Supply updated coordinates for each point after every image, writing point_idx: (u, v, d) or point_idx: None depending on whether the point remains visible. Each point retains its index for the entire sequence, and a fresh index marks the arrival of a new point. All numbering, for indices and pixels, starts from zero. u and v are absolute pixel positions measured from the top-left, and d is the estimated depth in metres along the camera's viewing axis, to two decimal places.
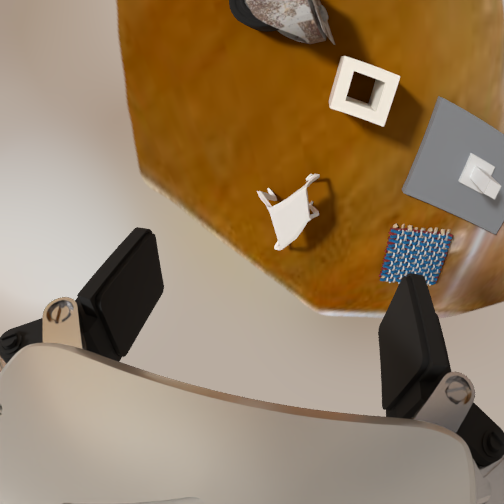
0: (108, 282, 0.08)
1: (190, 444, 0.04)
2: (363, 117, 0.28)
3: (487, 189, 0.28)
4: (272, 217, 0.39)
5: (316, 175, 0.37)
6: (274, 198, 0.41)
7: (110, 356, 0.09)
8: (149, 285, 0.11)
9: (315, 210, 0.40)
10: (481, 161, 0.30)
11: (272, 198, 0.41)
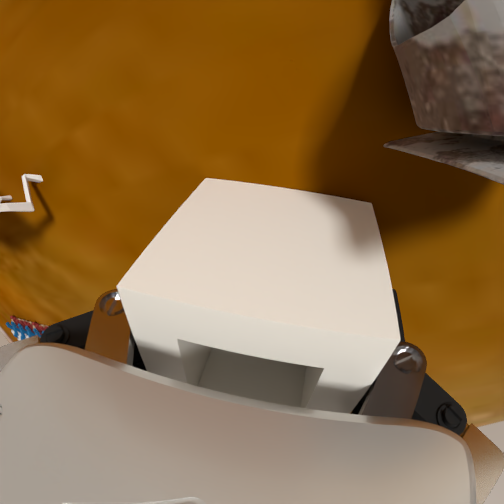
0: None
1: (190, 444, 0.04)
2: None
3: None
4: None
5: (26, 207, 0.11)
6: None
7: None
8: None
9: None
10: None
11: None
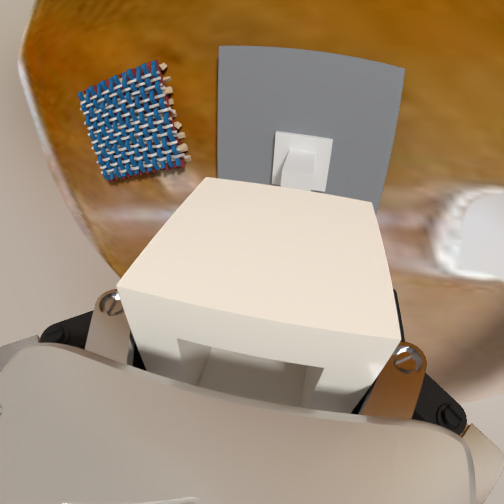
0: None
1: (190, 444, 0.04)
2: None
3: (292, 174, 0.19)
4: None
5: None
6: None
7: None
8: None
9: None
10: (325, 162, 0.23)
11: None
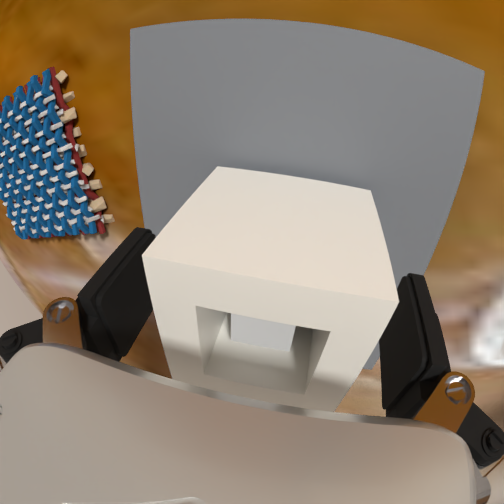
0: (108, 282, 0.08)
1: (190, 444, 0.04)
2: (168, 347, 0.09)
3: None
4: None
5: None
6: None
7: (110, 356, 0.09)
8: None
9: None
10: None
11: None
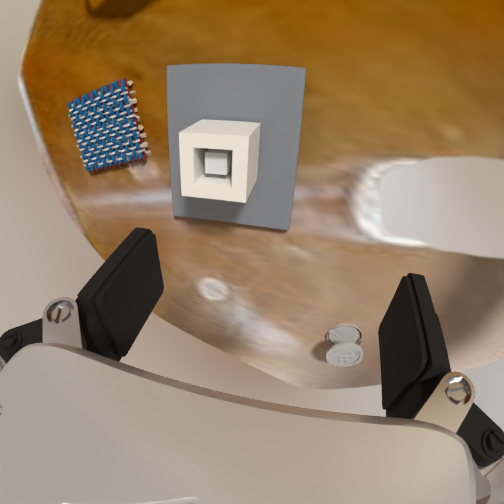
0: (108, 282, 0.08)
1: (190, 444, 0.04)
2: (182, 171, 0.26)
3: (212, 154, 0.26)
4: None
5: None
6: None
7: (110, 356, 0.09)
8: (149, 285, 0.11)
9: None
10: None
11: None
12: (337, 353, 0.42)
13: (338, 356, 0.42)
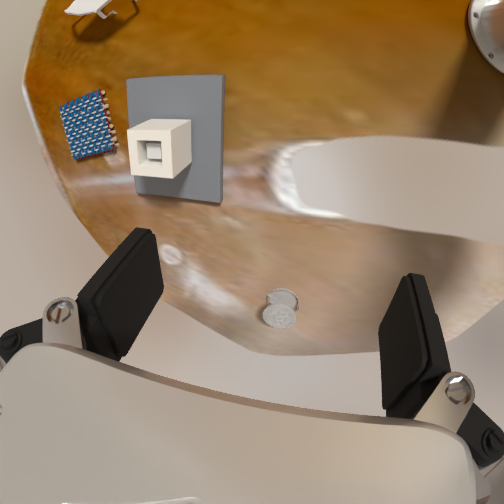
0: (108, 282, 0.08)
1: (190, 444, 0.04)
2: (130, 157, 0.35)
3: (151, 144, 0.34)
4: None
5: None
6: None
7: (110, 356, 0.09)
8: (149, 285, 0.11)
9: (107, 15, 0.28)
10: None
11: None
12: (272, 313, 0.50)
13: (274, 317, 0.51)
